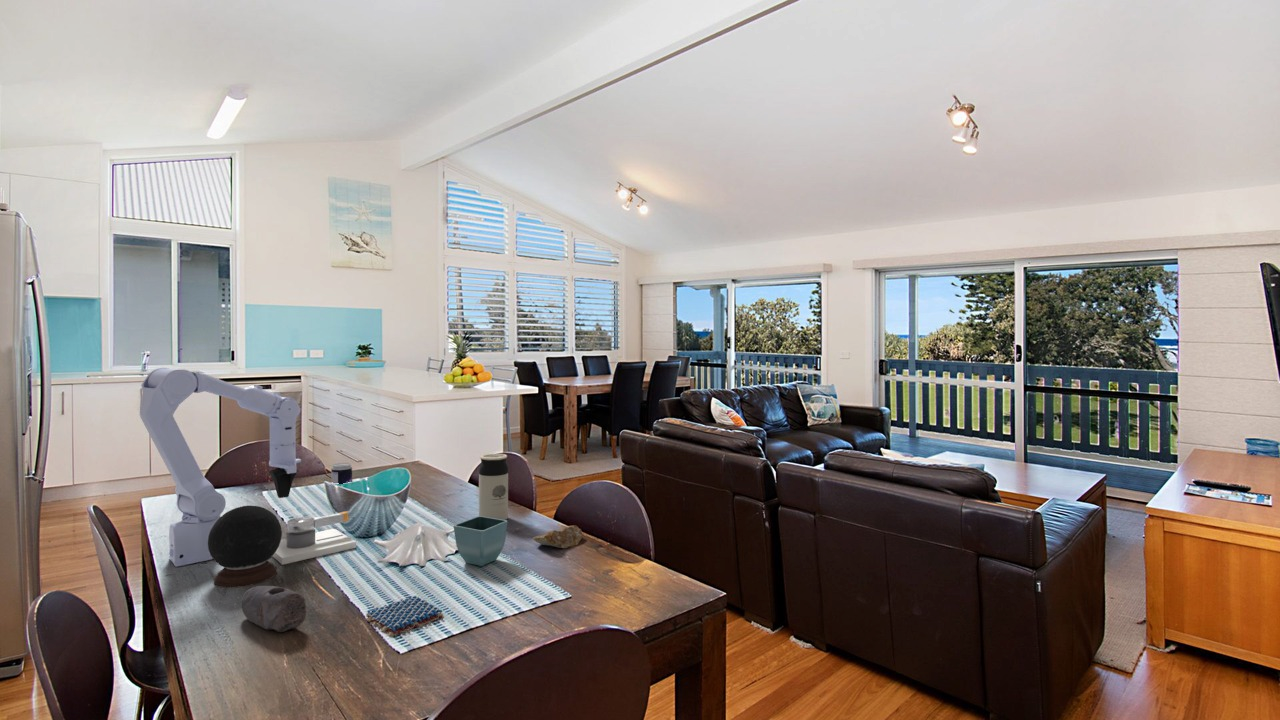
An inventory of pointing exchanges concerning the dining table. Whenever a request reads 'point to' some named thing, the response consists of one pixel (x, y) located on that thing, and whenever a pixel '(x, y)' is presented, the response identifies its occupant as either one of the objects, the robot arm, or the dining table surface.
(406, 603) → the woven mat
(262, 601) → the perforated stone tool
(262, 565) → the black egg on stand
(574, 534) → the decorative stone
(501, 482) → the travel mug
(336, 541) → the board
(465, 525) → the flower pot
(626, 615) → the dining table surface
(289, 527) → the lever with orange knob
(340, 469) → the beverage can
